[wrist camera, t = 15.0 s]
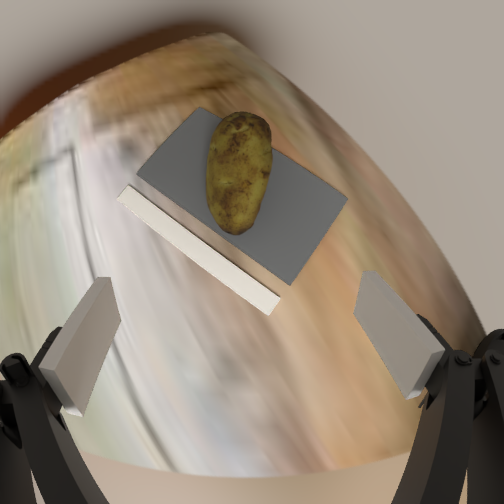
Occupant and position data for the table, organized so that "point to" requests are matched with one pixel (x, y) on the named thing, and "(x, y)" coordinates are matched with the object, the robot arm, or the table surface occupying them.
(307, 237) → the mat
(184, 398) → the table surface
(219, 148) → the potato
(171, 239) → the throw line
